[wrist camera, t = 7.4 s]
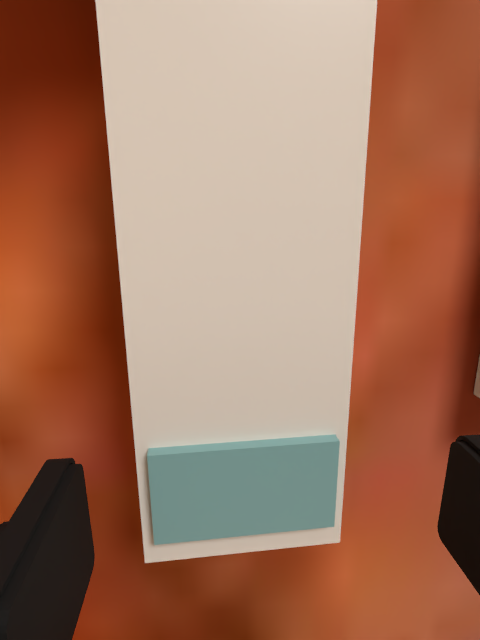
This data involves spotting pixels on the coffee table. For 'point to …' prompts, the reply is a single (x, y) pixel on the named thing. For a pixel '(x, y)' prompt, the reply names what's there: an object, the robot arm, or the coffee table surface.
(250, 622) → the coffee table surface
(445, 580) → the coffee table surface
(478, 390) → the tray
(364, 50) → the teal-tabbed cream block
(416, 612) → the coffee table surface
